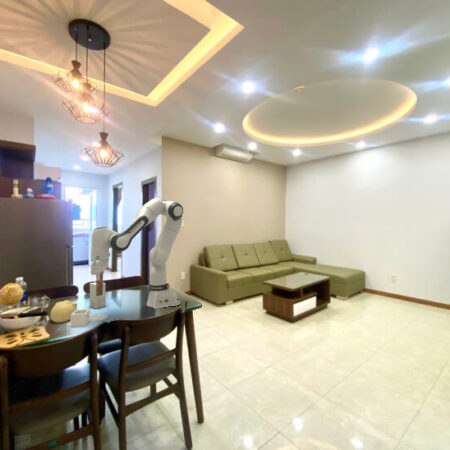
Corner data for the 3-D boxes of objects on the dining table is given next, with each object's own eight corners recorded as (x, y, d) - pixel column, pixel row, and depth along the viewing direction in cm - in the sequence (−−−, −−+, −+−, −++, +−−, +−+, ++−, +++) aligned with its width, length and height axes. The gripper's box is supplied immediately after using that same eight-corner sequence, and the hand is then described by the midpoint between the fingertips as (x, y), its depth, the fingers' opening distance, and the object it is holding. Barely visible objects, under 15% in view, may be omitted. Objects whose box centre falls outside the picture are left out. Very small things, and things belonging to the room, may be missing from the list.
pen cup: (89, 321, 134) (90, 309, 134) (85, 327, 127) (85, 314, 127) (76, 322, 132) (76, 309, 132) (70, 328, 126) (70, 314, 126)
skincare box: (105, 306, 158) (106, 282, 158) (95, 309, 153) (96, 284, 152) (99, 303, 163) (99, 280, 163) (89, 306, 157) (89, 282, 157)
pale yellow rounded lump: (79, 316, 141) (80, 297, 141) (67, 324, 129) (67, 304, 129) (59, 316, 141) (60, 297, 141) (45, 324, 129) (45, 304, 129)
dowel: (103, 293, 140) (103, 268, 140) (101, 295, 137) (102, 269, 137) (96, 294, 140) (97, 268, 140) (95, 295, 136) (95, 269, 136)
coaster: (109, 315, 144) (109, 314, 144) (105, 321, 135) (105, 320, 135) (93, 316, 142) (93, 315, 142) (87, 322, 133) (87, 321, 133)
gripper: (100, 257, 129) (100, 283, 129) (110, 253, 149) (110, 275, 149) (87, 257, 127) (87, 284, 127) (99, 253, 147) (99, 275, 148)
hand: (99, 279), depth 138 cm, fingers closed on dowel, 3 cm apart
